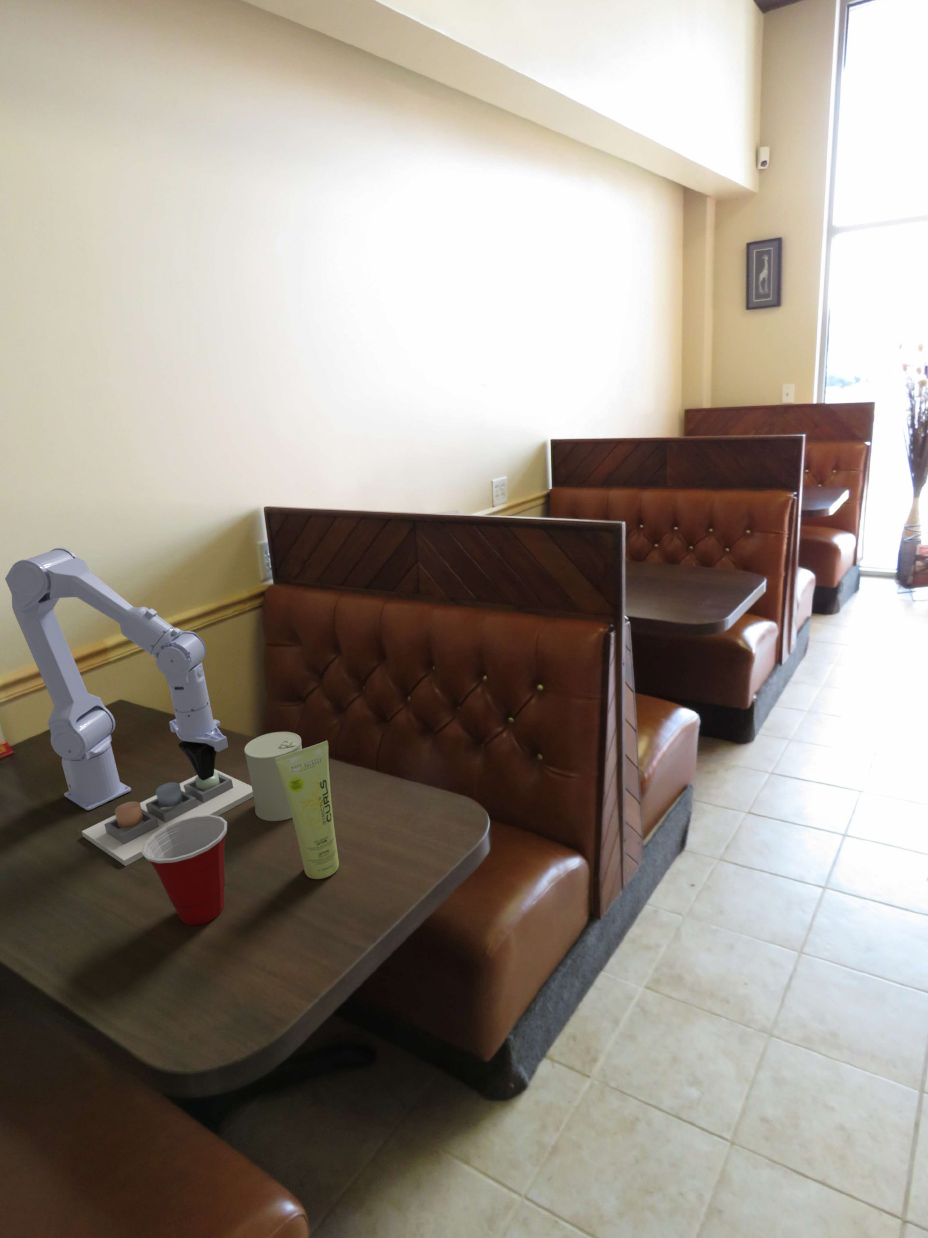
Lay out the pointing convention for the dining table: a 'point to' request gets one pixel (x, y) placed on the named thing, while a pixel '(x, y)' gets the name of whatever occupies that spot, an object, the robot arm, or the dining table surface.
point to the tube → (311, 807)
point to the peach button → (128, 814)
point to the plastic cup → (191, 865)
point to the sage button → (207, 782)
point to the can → (270, 773)
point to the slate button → (169, 794)
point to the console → (166, 816)
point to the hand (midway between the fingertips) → (206, 777)
